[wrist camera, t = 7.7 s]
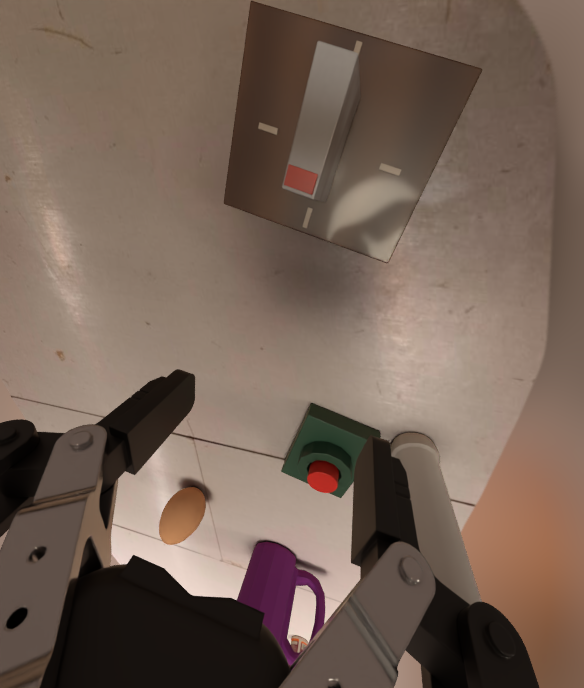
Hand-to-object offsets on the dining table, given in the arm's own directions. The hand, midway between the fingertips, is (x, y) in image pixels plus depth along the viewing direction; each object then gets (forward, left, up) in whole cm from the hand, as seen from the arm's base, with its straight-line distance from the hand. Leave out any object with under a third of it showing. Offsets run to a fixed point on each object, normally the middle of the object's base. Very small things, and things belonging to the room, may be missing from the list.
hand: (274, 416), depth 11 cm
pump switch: (-7, +19, -16) cm, 26 cm away
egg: (+10, +44, -17) cm, 48 cm away
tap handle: (+4, -11, -13) cm, 18 cm away
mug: (-12, +53, -17) cm, 57 cm away
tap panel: (+4, -11, -16) cm, 20 cm away
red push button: (-7, +19, -13) cm, 24 cm away
